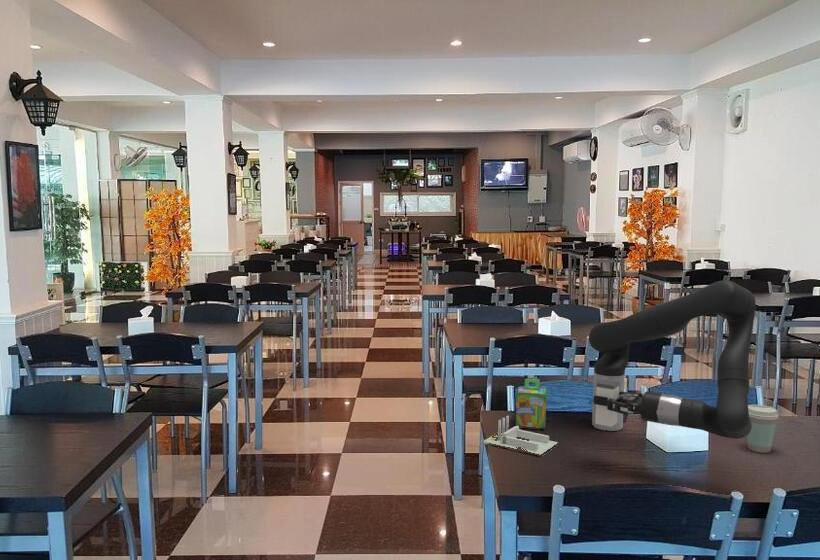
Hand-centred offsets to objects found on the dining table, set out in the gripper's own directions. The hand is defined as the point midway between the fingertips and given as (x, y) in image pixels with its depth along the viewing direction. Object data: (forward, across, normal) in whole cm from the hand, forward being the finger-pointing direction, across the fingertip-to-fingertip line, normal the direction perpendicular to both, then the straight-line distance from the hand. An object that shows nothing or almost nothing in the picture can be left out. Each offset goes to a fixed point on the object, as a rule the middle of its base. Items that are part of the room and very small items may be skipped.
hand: (597, 397), depth 179 cm
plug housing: (-3, 0, +6) cm, 7 cm away
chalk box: (+27, -18, +18) cm, 37 cm away
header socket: (+22, 0, +18) cm, 28 cm away
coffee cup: (-35, -37, +18) cm, 54 cm away
